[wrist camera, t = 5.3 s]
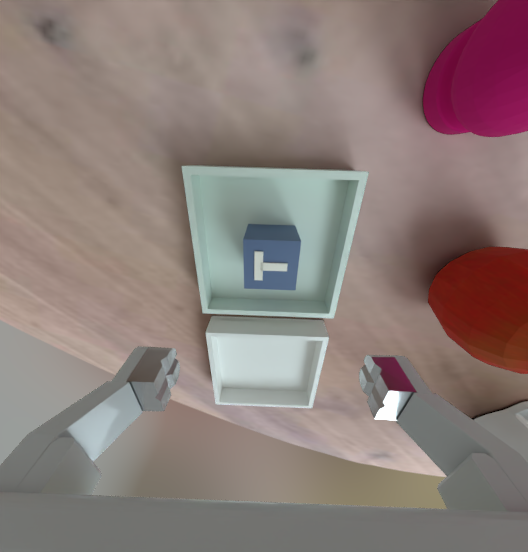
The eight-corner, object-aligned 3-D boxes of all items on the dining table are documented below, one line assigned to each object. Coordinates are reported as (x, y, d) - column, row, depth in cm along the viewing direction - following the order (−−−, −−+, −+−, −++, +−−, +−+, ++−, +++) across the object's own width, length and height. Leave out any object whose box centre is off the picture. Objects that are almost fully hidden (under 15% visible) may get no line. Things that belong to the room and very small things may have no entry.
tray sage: (354, 170, 18) (368, 171, 16) (327, 301, 25) (333, 318, 23) (193, 165, 19) (181, 165, 16) (209, 297, 25) (202, 313, 23)
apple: (430, 325, 27) (527, 425, 17) (395, 271, 23) (491, 357, 13) (523, 280, 23) (716, 372, 13) (498, 210, 20) (736, 262, 10)
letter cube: (295, 225, 20) (301, 241, 16) (291, 267, 22) (295, 291, 18) (248, 223, 20) (242, 239, 16) (248, 265, 22) (243, 289, 18)
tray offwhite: (323, 319, 27) (329, 337, 24) (308, 388, 34) (312, 408, 31) (211, 315, 27) (205, 332, 24) (219, 385, 34) (215, 404, 31)
